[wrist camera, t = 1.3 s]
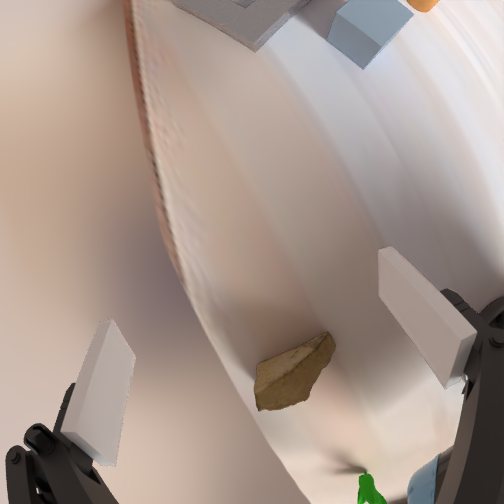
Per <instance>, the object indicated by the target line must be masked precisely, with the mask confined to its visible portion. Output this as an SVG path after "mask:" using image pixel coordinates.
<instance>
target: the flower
mask: <svg viewBox="0 0 504 504" xmlns="http://www.w3.org/2000/svg"><path fill="white" fill-rule="evenodd" d="M359 485H360V487H359V491H358V504H364V503H365V502H366V501H367V502H368V503H369V504H387V503H386V500H385V499H384V497H383V496H382V495H381V494H380V493H379V492H378V491H377V490H376V488H375V486H374V479H373V477H372V476H371V475H370V474H367V473H366V472H365V474H364V475H361V476H359Z"/></svg>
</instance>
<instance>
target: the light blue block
mask: <svg viewBox="0 0 504 504" xmlns="http://www.w3.org/2000/svg"><path fill="white" fill-rule="evenodd" d="M413 15H414V14H413V13H412V12H411V11H410V10H408V9H407V8H406V7H405V6H404V5H402V4H401V3H400V2H398V1H397V0H349V1H348V2H347V3H346V4H345V5H343V6H342V7H341V8H340V9H339V10H338V11H337V12H336V14H335V17H334V20H333V23H332V26H331V29H330V32H329V34H328V37H327V40H326V41H327V42H329V43H330V44H331V45H333V46H334V47H335V48H337V49H338V50H339V51H341V52H342V53H343V54H344V55H346V56H347V57H348V58H349V59H351V60H352V61H353V62H354V63H356V64H357V65H358V66H359V67H361V68H362V69H364V68H365V67H366V66H367V65H368V64H369V63H370V62H371V61H372V60H373V59H374V58H375V57H376V56H377V55H378V54H379V53H380V52H381V50H382V49H383V48H384V47H385V46H386V45H387V44H388V43H389V42H390V41H391V40H392V39H393V38H394V37H395V36H396V34H397V33H398V32H399V31H400V30H401V29H402V28H403V26H404V25H405V24H406V23H407V22H408V21H409V20H410V18H411V17H412V16H413Z"/></svg>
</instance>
